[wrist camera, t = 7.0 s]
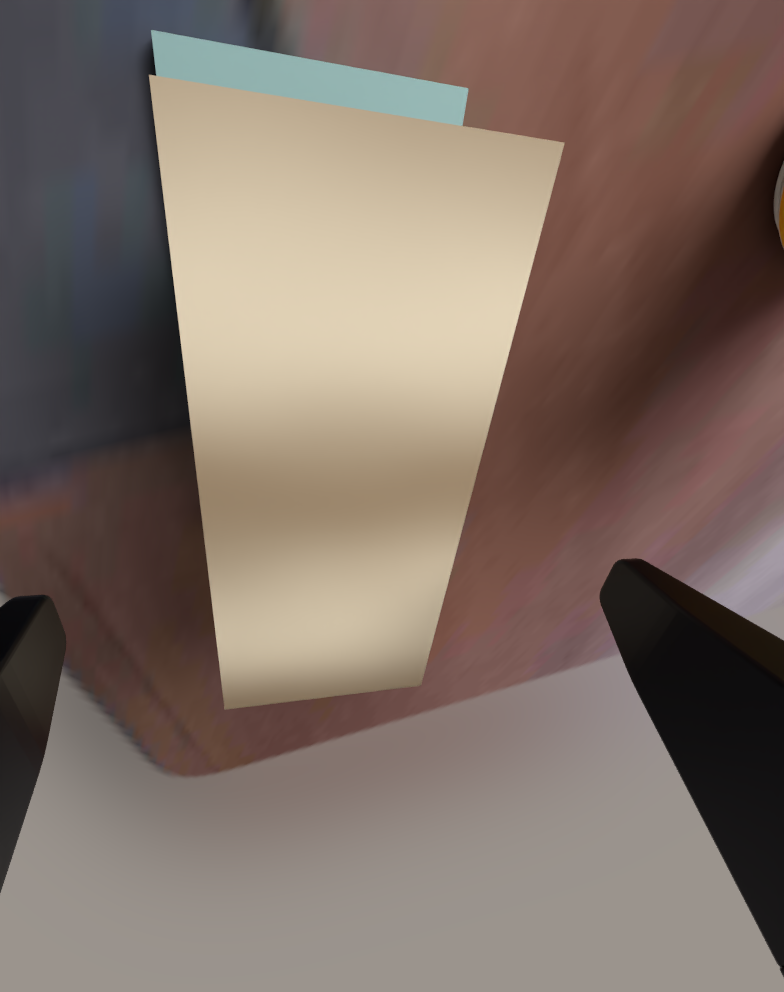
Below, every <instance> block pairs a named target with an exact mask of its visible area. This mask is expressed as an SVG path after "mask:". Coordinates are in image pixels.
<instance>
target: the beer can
mask: <svg viewBox="0 0 784 992" xmlns="http://www.w3.org/2000/svg"><path fill="white" fill-rule="evenodd" d="M774 217H775V222H776V226H777V228H778V231H779V235H780V239H781V243H782V246H783V248H784V161H783V164H782V167H781V169H780V173H779V176H778V180H777V184H776V189H775V195H774Z"/></svg>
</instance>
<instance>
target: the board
mask: <svg viewBox="0 0 784 992" xmlns="http://www.w3.org/2000/svg"><path fill="white" fill-rule="evenodd" d="M149 80H150V88H151V97H152V105H153V113H154V122H155V130H156V139H157V147H158V155H159V164H160V172H161V180H162V189H163V197H164V206H165V214H166V222H167V231H168V239H169V247H170V256H171V264H172V273H173V281H174V289H175V298H176V306H177V314H178V323H179V331H180V340H181V348H182V356H183V365H184V373H185V381H186V390H187V398H188V406H189V415H190V423H191V432H192V440H193V448H194V457H195V465H196V473H197V482H198V490H199V499H200V507H201V515H202V524H203V532H204V540H205V549H206V557H207V566H208V574H209V582H210V591H211V599H212V607H213V616H214V624H215V633H216V641H217V649H218V658H219V666H220V674H221V683H222V691H223V700H224V708H225V709H233V708H241V707H249V706H258V705H266V704H274V703H282V702H290V701H298V700H307V699H315V698H323V697H331V696H339V695H348V694H356V693H364V692H372V691H380V690H388V689H397V688H405V687H413V686H421V683H422V679H423V675H424V672H425V668H426V664H427V660H428V656H429V653H430V649H431V645H432V641H433V638H434V634H435V630H436V626H437V622H438V619H439V615H440V611H441V607H442V604H443V600H444V596H445V592H446V589H447V585H448V581H449V577H450V573H451V570H452V566H453V562H454V558H455V555H456V551H457V547H458V543H459V539H460V536H461V532H462V528H463V524H464V521H465V517H466V513H467V509H468V505H469V502H470V498H471V494H472V490H473V487H474V483H475V479H476V475H477V471H478V468H479V464H480V460H481V456H482V453H483V449H484V445H485V441H486V438H487V434H488V430H489V426H490V422H491V419H492V415H493V411H494V407H495V404H496V400H497V396H498V392H499V388H500V385H501V381H502V377H503V373H504V370H505V366H506V362H507V358H508V354H509V351H510V347H511V343H512V339H513V336H514V332H515V328H516V324H517V321H518V317H519V313H520V309H521V305H522V302H523V298H524V294H525V290H526V287H527V283H528V279H529V275H530V271H531V268H532V264H533V260H534V256H535V253H536V249H537V245H538V241H539V237H540V234H541V230H542V226H543V222H544V219H545V215H546V211H547V207H548V203H549V200H550V196H551V192H552V188H553V185H554V181H555V177H556V173H557V170H558V166H559V162H560V158H561V154H562V151H563V147H564V143H563V142H557V141H551V140H545V139H538V138H532V137H526V136H520V135H514V134H508V133H502V132H496V131H490V130H484V129H477V128H471V127H465V126H459V125H453V124H447V123H441V122H435V121H429V120H423V119H416V118H410V117H404V116H398V115H392V114H386V113H380V112H374V111H368V110H362V109H355V108H349V107H343V106H337V105H331V104H325V103H319V102H313V101H307V100H301V99H294V98H288V97H282V96H276V95H270V94H264V93H258V92H252V91H246V90H240V89H233V88H227V87H221V86H215V85H209V84H203V83H197V82H191V81H185V80H179V79H172V78H166V77H160V76H154V75H149Z"/></svg>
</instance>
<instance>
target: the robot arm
mask: <svg viewBox="0 0 784 992" xmlns="http://www.w3.org/2000/svg"><path fill="white" fill-rule="evenodd" d="M600 603H601V606H602V609H603V611H604V614H605V616H606V619H607V621H608V624H609V626H610V629H611V631H612V634H613V636H614V639H615V641H616V644H617V646H618V649H619V651H620V654H621V656H622V658H623V661H624V663H625V666H626V668H627V671H628V673H629V675H630V677H631V680H632V682H633V684H634V686H635V688H636V690H637V693H638V695H639V696H640V698H641V700H642V702H643V704H644V706H645V708H646V710H647V712H648V714H649V716H650V718H651V720H652V722H653V723H654V725H655V728H656V729H657V731H658V733H659V735H660V737H661V739H662V741H663V743H664V745H665V747H666V749H667V751H668V753H669V755H670V757H671V758H672V760H673V762H674V764H675V766H676V768H677V770H678V772H679V774H680V776H681V778H682V780H683V782H684V784H685V786H686V787H687V790H688V792H689V793H690V795H691V797H692V799H693V801H694V803H695V805H696V807H697V809H698V811H699V813H700V815H701V817H702V818H703V821H704V822H705V824H706V826H707V828H708V830H709V832H710V834H711V836H712V838H713V840H714V842H715V844H716V846H717V848H718V850H719V852H720V854H721V855H722V857H723V859H724V861H725V863H726V865H727V867H728V869H729V871H730V873H731V875H732V877H733V879H734V881H735V883H736V885H737V887H738V889H739V891H740V892H741V894H742V896H743V898H744V900H745V902H746V904H747V906H748V908H749V910H750V912H751V914H752V916H753V917H754V920H755V922H756V924H757V925H758V927H759V929H760V931H761V933H762V935H763V937H764V939H765V941H766V943H767V945H768V947H769V949H770V951H771V953H772V954H773V956H774V958H775V960H776V962H777V964H778V965H779V966H780V971H781V973H782V975H783V977H784V640H782V639H780V638H778V637H777V636H775V635H773V634H771V633H770V632H768V631H766V630H764V629H763V628H761V627H759V626H757V625H756V624H754V623H752V622H750V621H749V620H747V619H745V618H743V617H742V616H740V615H738V614H737V613H735V612H733V611H731V610H730V609H728V608H726V607H724V606H723V605H721V604H719V603H717V602H716V601H714V600H712V599H710V598H709V597H707V596H705V595H703V594H702V593H700V592H698V591H696V590H695V589H693V588H691V587H690V586H688V585H686V584H684V583H683V582H681V581H679V580H677V579H676V578H674V577H672V576H670V575H669V574H667V573H665V572H663V571H662V570H660V569H658V568H656V567H655V566H653V565H651V564H650V563H648V562H646V561H644V560H642V559H637V558H635V559H621V560H618V561H617V562H616V563H615V564H614V565H613V567H612V569H611V571H610V573H609V575H608V577H607V579H606V581H605V583H604V585H603V586H602V588H601V591H600ZM65 650H66V635H65V631H64V629H63V626H62V623H61V621H60V618H59V615H58V613H57V610H56V607H55V605H54V602H53V600H52V599H51V598H50V597H49V596H47V595H33V596H18V597H15V598H12V599H11V600H9V601H8V602H6V603H5V604H4V605H3V606H1V607H0V892H1V889H2V886H3V883H4V880H5V877H6V874H7V871H8V868H9V865H10V862H11V859H12V855H13V853H14V849H15V846H16V843H17V840H18V837H19V834H20V831H21V828H22V825H23V822H24V819H25V815H26V812H27V809H28V806H29V803H30V800H31V797H32V794H33V791H34V787H35V785H36V781H37V778H38V775H39V772H40V768H41V765H42V762H43V758H44V754H45V750H46V745H47V741H48V736H49V731H50V725H51V721H52V716H53V711H54V705H55V701H56V696H57V691H58V686H59V681H60V676H61V671H62V666H63V661H64V656H65Z"/></svg>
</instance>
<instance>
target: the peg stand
mask: <svg viewBox="0 0 784 992" xmlns="http://www.w3.org/2000/svg"><path fill="white" fill-rule="evenodd" d="M151 33H152V42H153V51H154V60H155V69H156V76H160V77H166V78H172V79H179V80H185V81H191V82H197V83H203V84H209V85H215V86H221V87H227V88H233V89H240V90H246V91H252V92H258V93H264V94H270V95H276V96H282V97H288V98H294V99H301V100H307V101H313V102H319V103H325V104H331V105H337V106H343V107H349V108H355V109H362V110H368V111H374V112H380V113H386V114H392V115H398V116H404V117H410V118H416V119H423V120H429V121H435V122H441V123H447V124H453V125H459V126H462V125H463V119H464V113H465V106H466V100H467V94H468V88H463V87H458V86H452V85H447V84H441V83H436V82H431V81H425V80H420V79H414V78H409V77H403V76H398V75H393V74H387V73H382V72H376V71H371V70H365V69H360V68H355V67H349V66H344V65H338V64H333V63H327V62H322V61H317V60H311V59H306V58H300V57H295V56H289V55H284V54H279V53H273V52H268V51H262V50H257V49H252V48H246V47H241V46H235V45H230V44H224V43H219V42H214V41H208V40H203V39H197V38H192V37H186V36H181V35H176V34H170V33H165V32H159V31H154V30H151Z"/></svg>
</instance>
